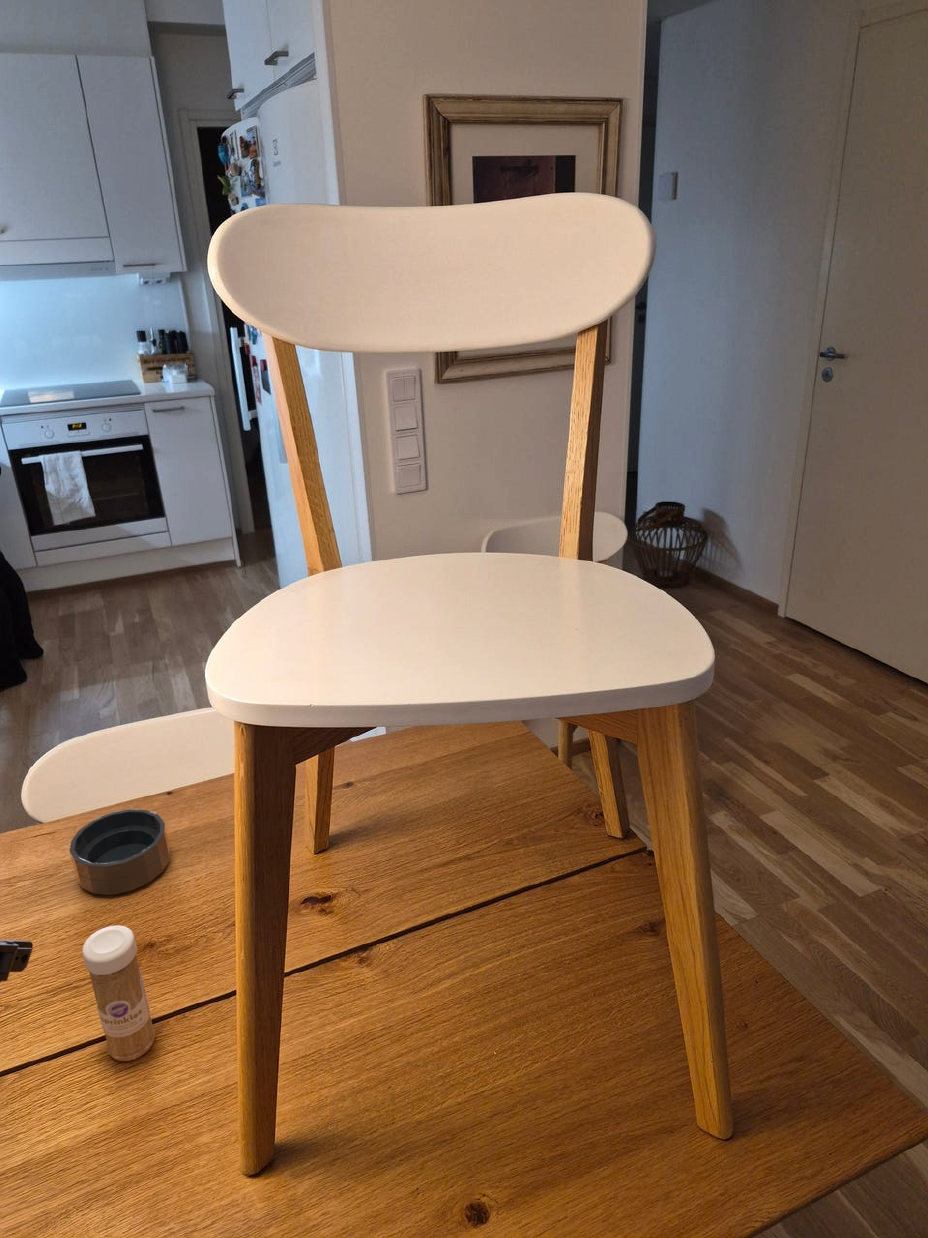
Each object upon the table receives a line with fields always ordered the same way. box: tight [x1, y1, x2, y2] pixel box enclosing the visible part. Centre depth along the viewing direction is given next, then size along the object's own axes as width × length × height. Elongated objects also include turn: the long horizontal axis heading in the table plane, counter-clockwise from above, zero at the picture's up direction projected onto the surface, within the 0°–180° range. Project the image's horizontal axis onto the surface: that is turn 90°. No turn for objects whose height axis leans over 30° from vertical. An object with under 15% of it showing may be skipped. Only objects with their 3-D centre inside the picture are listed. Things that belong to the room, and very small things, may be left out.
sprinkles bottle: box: [81, 925, 156, 1062], centre depth 80 cm, size 5×5×13 cm
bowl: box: [69, 808, 171, 896], centre depth 105 cm, size 11×11×5 cm
